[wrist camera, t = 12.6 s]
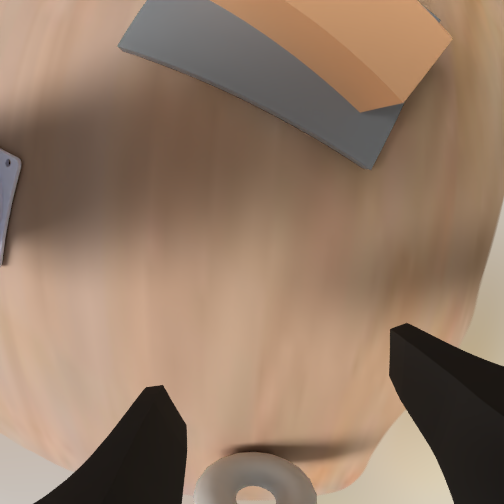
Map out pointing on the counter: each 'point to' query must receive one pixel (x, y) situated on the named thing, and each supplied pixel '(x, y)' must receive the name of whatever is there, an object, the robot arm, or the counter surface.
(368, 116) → the post board
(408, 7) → the rectangular block
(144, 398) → the robot arm
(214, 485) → the donut
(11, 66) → the counter surface
